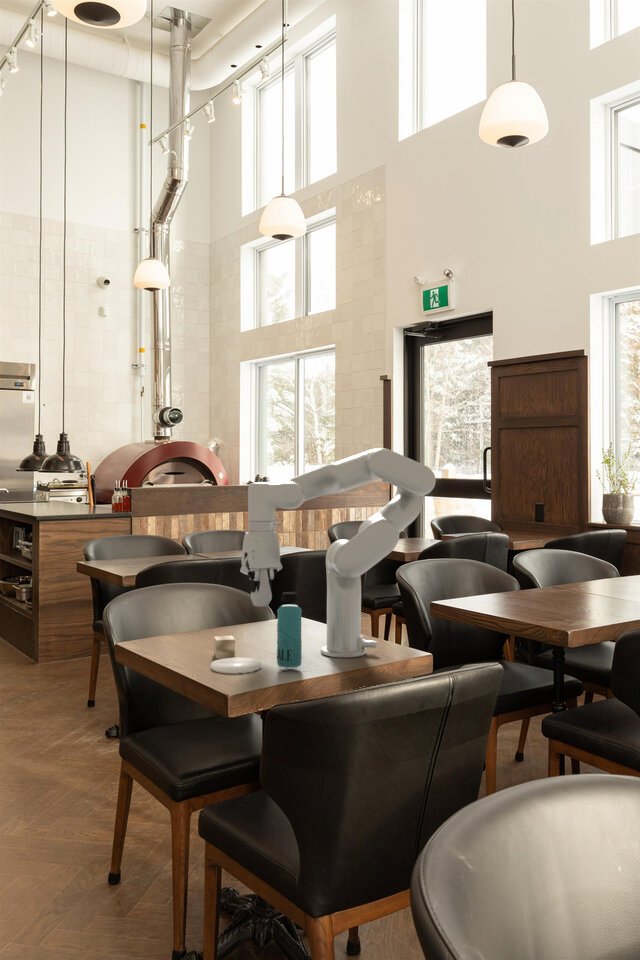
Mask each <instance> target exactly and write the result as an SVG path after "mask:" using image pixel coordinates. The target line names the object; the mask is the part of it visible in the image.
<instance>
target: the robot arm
mask: <svg viewBox="0 0 640 960" xmlns="http://www.w3.org/2000/svg"><path fill="white" fill-rule="evenodd" d="M377 480H382V481H384V482H386V483H387V484H390V485H393V486H394V487H396V492H395V495H394V496H393V498H392V499H391V500H390V501H388V503H386V505H384V506H383V507H382V508H380V509H379V510H378V511H376V512H375V513H373V514H372V515H371V516H369V517H368V518H367V519H365V520H364V521H363V522H362V523H361V524H360V526H359V527H358V531H357V534H356V535H354V536H353V537H352V538H350V539H345V538H343V539H342V538H341V539H338V540H335V541H334V542H332V543H331V544H330V546H328V549H327V551H326V555H325V568H326V570H325V571H326V645H323V646H322V647H320V648H321V649H320V653H321V654H322V655H324V656H328V657H331V658H332V657H333V658H341V659H342V658H345V659H346V658H347V659H348V658H357V657H362V656H364V655H366V654H367V648H369V649H377V648H378V647H377V645H378V644H377V643H378V641H376V640H373V639H371V640H370V639H367V640H366V639H364V638H363V634H362V633H361V632H362V631H361V629H362V628H361V627H362V625H361V624H362V623H361V622H362V616H361V615H362V579H361V576H362V575H363V574H365V573H366V572H367V571H369V570H370V569H371V568H373V567H374V566H375V565H377V564H378V563H379V562H381V561H382V560H383V559H384V558H386V557H387V556H388V555H389V554H390V553H392V552H393V551H394V549H395V548H396V547H397V545H398V544H399V540H400V533H401V532H402V531H404V530H405V529H406V528H407V527H408V526H410V525H411V524H412V523H413V522H415V520H416V519H417V517H418V516H419V515H420V512H421V511H422V508H423V505H424V501H425V500H424V499H425V496H426V495H428V494H430V493H431V492H432V491H433V490H434V488H435V487H436V486H435V485H436V480H437V479H436V475H435V473H434V472H433V469H431V467H428V466H427V465H425V464H424V463H423V464H422V463H421V462H418V461H416V460H414V459H412V458H409V457H407V456H405V455H402V454H400V453H398V452H396V451H393V450H391V449H388V448H385V447H379V448H373V449H368V450H366V451H363V452H361V453H358V454H355V455H351V456H349V457H347V458H343V459H341V460H338V461H335V462H332V463H329V464H326V465H324V466H322V467H320V468H318V469H317V468H316V469H315V470H312V471H310V472H306V473H304V474H300V475H297V476H294V477H292V478H288V479H286V480H283V481H280V482H279V483H276V482H275V483H273V482H269V481H267V482H266V481H257V482H251V483H250V484H248V488H247V494H248V495H247V498H248V499H247V501H248V502H247V505H248V506H247V511H248V512H247V520H248V521H247V532H245V533H244V537H243V541H242V550H241V567H240V569H239V571H240V573H242V574H244V575H246V577H248V579H249V580H250V590H251V591H252V592H255V591H256V586H257V591H258V592H259V587H260V581H258V576H259V569H267V572H268V577H269V584H270V589H271V591H272V590H273V580H274V578H275V576H276V575H277V573H278V572H279V571H281V570H282V569H283V565H282V562H281V549H280V548H281V547H280V539H279V535H278V531H277V530H276V529H277V528H278V527H279V525H280V523H279V522H278V521H276V514H277V513H276V509H285V510H295V509H297V508H299V507H301V506H302V505H303V504H304V502H306V501H309V500H310V501H311V500H312V499H315V498H319V497H323V496H328V495H336V494H340V493H344V492H347V491H350V490H352V489H355V488H357V487H360V486H363V485H365V484H369V483H372V482H374V481H377ZM251 591H250V592H251Z"/></svg>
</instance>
